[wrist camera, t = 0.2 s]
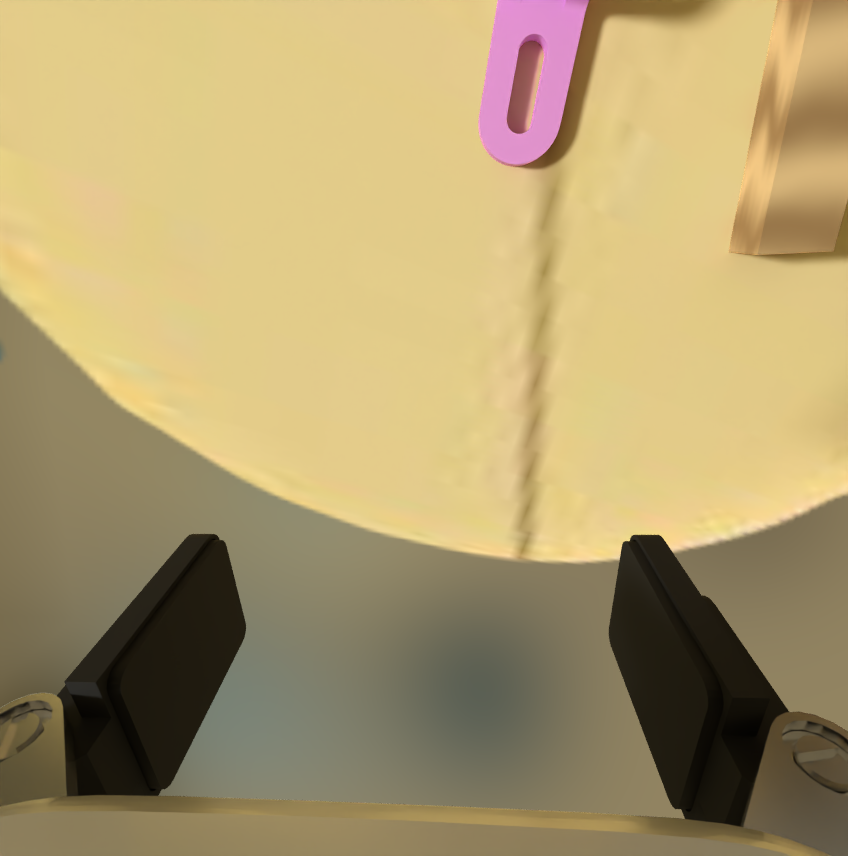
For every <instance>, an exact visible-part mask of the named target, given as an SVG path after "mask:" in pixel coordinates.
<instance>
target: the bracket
mask: <svg viewBox="0 0 848 856" xmlns="http://www.w3.org/2000/svg"><path fill="white" fill-rule="evenodd" d="M588 2H589V0H498V2H497V8H496V14H495V20H494V27H493V33H492V39H491V45H490V51H489V58H488V64H487V70H486V76H485V83H484V89H483V95H482V101H481V107H480V114H479V134H480V138H481V141H482V144H483V146H484V148H485V149H486V151H487V152H488V154H489V155H490V156H491V157H492V158H493V159H495V160H496V161H498V162H499V163H501V164H504V165H507V166H522V165H526V164H529V163H531V162H533V161H534V160H536V159H537V158H539V157H540V156H541V155H543V154H544V153H545V152H546V151H547V150H548V149H549V147H550V146H551V145H552V143H553V142H554V140H555V138H556V136H557V134H558V131H559V128H560V124H561V119H562V115H563V110H564V106H565V101H566V97H567V92H568V88H569V83H570V79H571V74H572V70H573V65H574V61H575V56H576V52H577V47H578V43H579V38H580V34H581V29H582V25H583V20H584V16H585V12H586V8H587V5H588ZM527 41H536V42H538V43H539V44H540V45H541V47H542V48H543V51H544V60H543V65H542V70H541V75H540V80H539V85H538V90H537V95H536V100H535V105H534V110H533V115H532V120H531V125H530V128H529V130H528V131H526V132H525V133H522V134H516V133H514V132H512V131H511V130H510V129H509V127H508V125H507V113H508V107H509V102H510V96H511V91H512V85H513V80H514V74H515V69H516V63H517V58H518V52H519V48H520V47H521V45H522V44H524V43H525V42H527Z"/></svg>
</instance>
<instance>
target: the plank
mask: <svg viewBox="0 0 848 856" xmlns="http://www.w3.org/2000/svg"><path fill="white" fill-rule="evenodd" d="M847 201H848V0H778V1H777V6H776V12H775V17H774V22H773V27H772V32H771V37H770V42H769V47H768V53H767V58H766V63H765V68H764V73H763V78H762V83H761V88H760V94H759V99H758V104H757V109H756V114H755V119H754V124H753V129H752V135H751V140H750V145H749V150H748V155H747V160H746V165H745V170H744V175H743V181H742V186H741V191H740V196H739V201H738V206H737V211H736V216H735V222H734V227H733V232H732V237H731V242H730V247H729V252H733V253H743V254H753V255H768V254H790V253H811V252H832V251H834V248H835V244H836V241H837V237H838V233H839V230H840V226H841V223H842V219H843V215H844V212H845V208H846V205H847Z"/></svg>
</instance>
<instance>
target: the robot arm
mask: <svg viewBox="0 0 848 856" xmlns="http://www.w3.org/2000/svg"><path fill="white" fill-rule="evenodd" d="M245 631H246V623H245V619H244V615H243V611H242V607H241V603H240V599H239V595H238V591H237V587H236V582H235V579H234V575H233V570H232V566H231V562H230V558H229V554H228V551H227V546H226V544H225V542H224V541H223V540H219V537H218V536H217V535H215V534H191V535H189V536H188V537H187V538H186V539H185V540H184V541H183V542H182V544H181V545H180V546H179V547H178V548H177V549H176V551H175V552H174V553H173V554H172V555H171V556H170V558H169V559H168V560H167V561H166V562H165V564H164V565H163V566H162V567H161V568H160V569H159V571H158V572H157V573H156V574H155V575H154V576H153V578H152V579H151V580H150V581H149V582H148V584H147V585H146V586H145V587H144V588H143V590H142V591H141V592H140V593H139V594H138V595H137V597H136V598H135V599H134V600H133V601H132V602H131V604H130V605H129V606H128V607H127V609H126V610H125V611H124V612H123V613H122V614H121V615H120V617H119V618H118V619H117V620H116V621H115V623H114V624H113V625H112V626H111V627H110V628H109V630H108V631H107V632H106V633H105V634H104V635H103V637H102V638H101V639H100V640H99V641H98V643H97V644H96V645H95V646H94V647H93V648H92V650H91V651H90V652H89V653H88V654H87V656H86V657H85V658H84V659H83V660H82V661H81V663H80V664H79V665H78V666H77V667H76V669H75V670H74V671H73V672H72V673H71V674H70V676H69V677H68V678H67V679H66V680H65V684H66V685H65V687H64V688H63V689H62V690H61V692H60V693H59V694H58V695H57V696H56V695H54V694H51V693H37V694H31V695H27V696H25V697H22V698H19V699H17V700H14V701H12V702H10V703H8V704H6V705H5V706H3V707H1V708H0V856H848V731H847V730H845V729H843V728H842V727H840V726H838V725H837V724H835V723H833V722H831V721H829V720H826V719H824V718H821V717H819V716H816V715H813V714H808V713H803V712H789V711H788V709H787V708H786V707H785V705H784V704H783V702H782V701H781V699H780V698H779V697H778V695H777V694H776V692H775V691H774V689H773V688H772V686H771V685H770V683H769V682H768V681H767V679H766V678H765V676H764V675H763V673H762V672H761V670H760V669H759V667H758V666H757V665H756V663H755V662H754V660H753V659H752V657H751V656H750V654H749V653H748V652H747V650H746V649H745V647H744V646H743V645H742V643H741V642H740V640H739V639H738V637H737V636H736V634H735V633H734V632H733V630H732V628H731V627H730V626H729V624H728V623H727V621H726V620H725V618H724V617H723V615H722V614H721V613H720V611H719V610H718V608H717V607H716V605H715V604H714V603H713V602H712V601H711V599H709V598H708V597H706V596H701V594H700V593H699V591H698V590H697V588H696V587H695V585H694V584H693V582H692V581H691V580H690V578H689V576H688V575H687V573H686V572H685V570H684V569H683V567H682V566H681V564H680V563H679V561H678V560H677V558H676V557H675V556H674V554H673V552H672V551H671V549H670V548H669V547H668V545H667V544H666V542H665V541H664V539H663V538H662V537H661V536H660V535H633V536H632V537H631V539H630V541H625V542H623V544H622V549H621V556H620V562H619V569H618V575H617V581H616V588H615V594H614V601H613V606H612V613H611V619H610V625H609V639H610V644H611V647H612V650H613V653H614V655H615V658H616V661H617V663H618V666H619V669H620V671H621V674H622V676H623V679H624V682H625V685H626V687H627V690H628V692H629V695H630V698H631V700H632V703H633V706H634V708H635V711H636V714H637V716H638V719H639V721H640V724H641V727H642V730H643V732H644V735H645V737H646V740H647V743H648V745H649V748H650V751H651V754H652V756H653V759H654V761H655V764H656V767H657V769H658V772H659V775H660V777H661V780H662V783H663V785H664V788H665V791H666V793H667V796H668V798H669V801H670V803H671V805H672V806H673V807H674V808H675V809H682V812H683V814H684V817H685V819H679V818H665V817H649V816H634V815H619V814H602V813H588V812H566V811H565V812H564V811H543V810H521V809H499V808H477V807H476V808H475V807H456V806H454V807H453V806H430V805H406V804H382V803H381V804H380V803H354V802H330V801H329V802H328V801H303V800H275V799H244V798H215V797H214V798H212V797H185V796H183V797H181V796H158V795H159V793H160V791H161V790H162V789H166V788H167V787H168V786H169V785H170V784H171V782H172V781H173V779H174V777H175V775H176V773H177V771H178V769H179V767H180V765H181V763H182V761H183V759H184V757H185V755H186V753H187V751H188V749H189V747H190V745H191V743H192V741H193V739H194V737H195V735H196V733H197V731H198V729H199V727H200V725H201V723H202V721H203V719H204V717H205V715H206V713H207V711H208V709H209V708H210V705H211V703H212V702H213V700H214V698H215V695H216V694H217V692H218V690H219V687H220V685H221V684H222V682H223V680H224V677H225V676H226V673H227V672H228V670H229V668H230V665H231V663H232V662H233V660H234V657H235V655H236V654H237V652H238V650H239V647H240V646H241V644H242V642H243V639H244V637H245Z"/></svg>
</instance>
